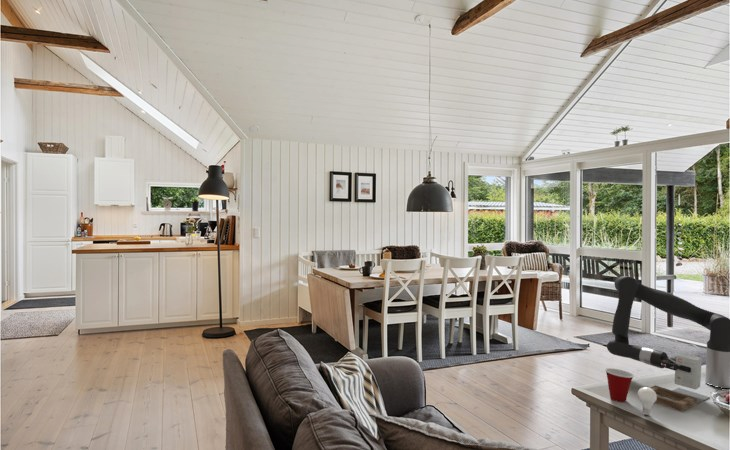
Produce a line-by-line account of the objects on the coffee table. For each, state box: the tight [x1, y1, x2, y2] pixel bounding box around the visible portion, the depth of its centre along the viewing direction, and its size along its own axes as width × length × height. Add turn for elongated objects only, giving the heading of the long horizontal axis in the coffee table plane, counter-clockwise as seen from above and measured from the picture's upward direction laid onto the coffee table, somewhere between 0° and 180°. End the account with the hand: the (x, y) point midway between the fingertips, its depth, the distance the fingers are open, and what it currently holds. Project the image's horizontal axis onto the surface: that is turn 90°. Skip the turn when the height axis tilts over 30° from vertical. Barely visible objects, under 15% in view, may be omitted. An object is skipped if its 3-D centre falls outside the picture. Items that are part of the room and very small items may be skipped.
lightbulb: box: [637, 386, 658, 416], centre depth 173 cm, size 6×6×11 cm
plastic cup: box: [605, 367, 635, 403], centre depth 188 cm, size 11×11×12 cm
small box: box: [674, 352, 703, 390], centre depth 194 cm, size 8×6×13 cm
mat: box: [672, 387, 711, 405], centre depth 194 cm, size 12×12×1 cm
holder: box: [649, 385, 697, 412], centre depth 188 cm, size 14×16×2 cm
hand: (694, 369), depth 192 cm, fingers closed on small box, 6 cm apart
